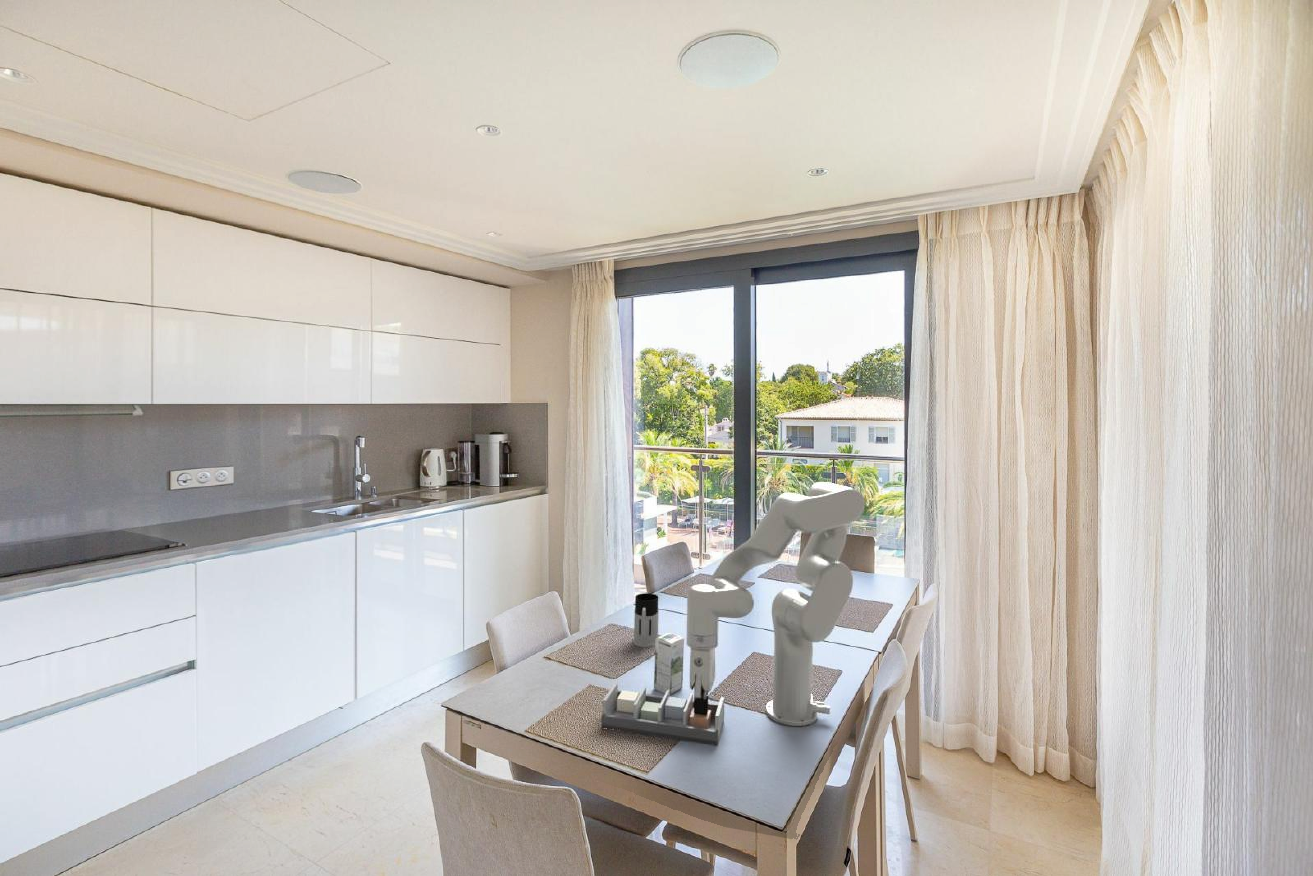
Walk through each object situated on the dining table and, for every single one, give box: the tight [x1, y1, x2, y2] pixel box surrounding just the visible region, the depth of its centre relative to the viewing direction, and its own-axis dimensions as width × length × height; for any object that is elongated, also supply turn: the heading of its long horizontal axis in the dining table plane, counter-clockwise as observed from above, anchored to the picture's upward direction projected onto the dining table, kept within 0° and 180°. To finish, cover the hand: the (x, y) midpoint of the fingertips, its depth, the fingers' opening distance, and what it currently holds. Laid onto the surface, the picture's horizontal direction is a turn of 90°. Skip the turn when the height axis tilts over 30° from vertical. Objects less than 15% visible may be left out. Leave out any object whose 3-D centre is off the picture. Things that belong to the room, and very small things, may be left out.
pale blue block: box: [665, 696, 688, 720], centre depth 150 cm, size 4×4×3 cm
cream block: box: [617, 690, 640, 713], centre depth 153 cm, size 4×4×3 cm
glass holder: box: [632, 592, 659, 648], centre depth 200 cm, size 9×14×15 cm, turn 174°
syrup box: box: [653, 632, 685, 696], centre depth 170 cm, size 6×6×14 cm
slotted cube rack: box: [600, 682, 725, 747], centre depth 151 cm, size 28×11×7 cm, turn 76°
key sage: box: [641, 701, 660, 722], centre depth 151 cm, size 4×4×3 cm
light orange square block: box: [690, 708, 711, 729], centre depth 149 cm, size 4×4×3 cm
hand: (701, 712), depth 149 cm, fingers closed
